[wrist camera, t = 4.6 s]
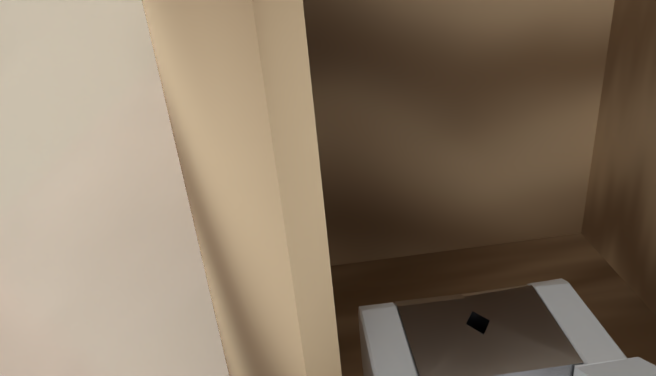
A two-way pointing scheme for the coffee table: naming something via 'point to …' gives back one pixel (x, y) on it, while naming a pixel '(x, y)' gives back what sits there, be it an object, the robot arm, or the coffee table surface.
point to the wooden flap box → (488, 153)
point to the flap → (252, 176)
